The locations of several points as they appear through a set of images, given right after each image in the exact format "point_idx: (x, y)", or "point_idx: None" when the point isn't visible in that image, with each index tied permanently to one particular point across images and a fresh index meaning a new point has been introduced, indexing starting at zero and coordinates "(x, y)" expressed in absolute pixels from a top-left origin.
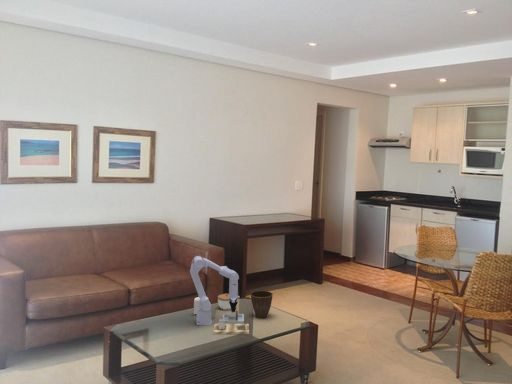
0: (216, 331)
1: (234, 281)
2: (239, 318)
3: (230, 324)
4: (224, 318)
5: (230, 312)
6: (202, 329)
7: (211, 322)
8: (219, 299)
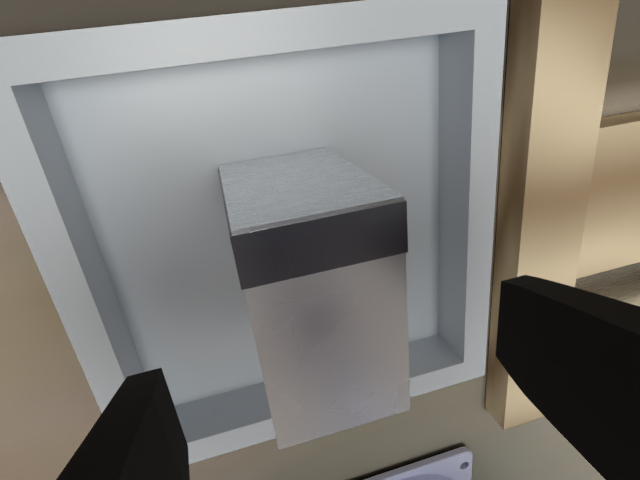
0: None
1: None
2: (150, 138)
3: (552, 232)
4: (220, 390)
5: (408, 373)
6: (564, 465)
7: (409, 472)
8: None
